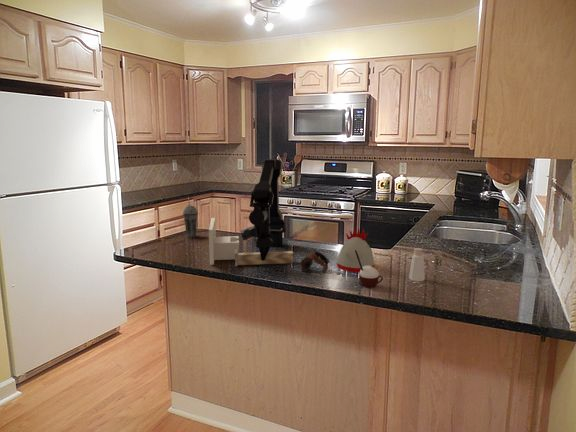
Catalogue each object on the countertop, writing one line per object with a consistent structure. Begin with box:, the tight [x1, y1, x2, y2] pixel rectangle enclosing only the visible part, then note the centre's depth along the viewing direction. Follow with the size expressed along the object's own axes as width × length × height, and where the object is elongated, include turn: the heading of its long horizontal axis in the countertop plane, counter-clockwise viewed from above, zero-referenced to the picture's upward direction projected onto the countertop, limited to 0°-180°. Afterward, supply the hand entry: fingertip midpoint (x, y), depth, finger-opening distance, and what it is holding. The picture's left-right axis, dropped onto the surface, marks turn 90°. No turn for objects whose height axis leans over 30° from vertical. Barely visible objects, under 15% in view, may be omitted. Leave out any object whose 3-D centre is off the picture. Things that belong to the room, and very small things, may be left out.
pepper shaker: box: [408, 247, 426, 283], centre depth 146 cm, size 5×5×11 cm
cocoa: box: [355, 250, 383, 288], centre depth 139 cm, size 10×6×12 cm, turn 68°
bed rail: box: [234, 249, 294, 267], centre depth 165 cm, size 23×6×5 cm, turn 98°
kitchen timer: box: [336, 228, 375, 273], centre depth 160 cm, size 14×14×15 cm
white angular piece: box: [208, 217, 240, 266], centre depth 174 cm, size 12×24×14 cm, turn 8°
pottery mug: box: [300, 250, 330, 274], centre depth 154 cm, size 12×10×8 cm
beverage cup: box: [182, 196, 199, 238], centre depth 208 cm, size 7×7×20 cm
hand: (262, 259), depth 165 cm, fingers closed on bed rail, 3 cm apart
